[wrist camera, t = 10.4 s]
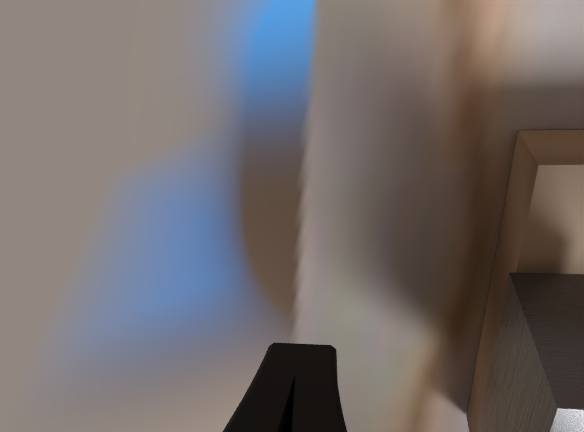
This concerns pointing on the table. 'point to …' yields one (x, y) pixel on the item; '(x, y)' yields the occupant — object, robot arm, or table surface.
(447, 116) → the table surface
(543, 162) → the press bed
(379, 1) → the table surface
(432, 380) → the table surface
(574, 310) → the ram
